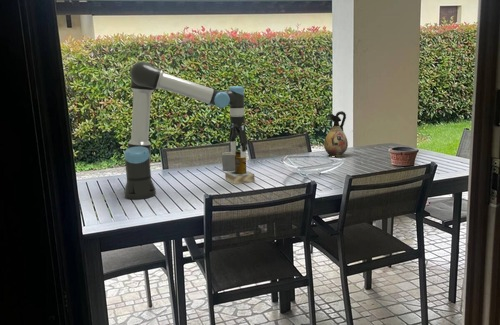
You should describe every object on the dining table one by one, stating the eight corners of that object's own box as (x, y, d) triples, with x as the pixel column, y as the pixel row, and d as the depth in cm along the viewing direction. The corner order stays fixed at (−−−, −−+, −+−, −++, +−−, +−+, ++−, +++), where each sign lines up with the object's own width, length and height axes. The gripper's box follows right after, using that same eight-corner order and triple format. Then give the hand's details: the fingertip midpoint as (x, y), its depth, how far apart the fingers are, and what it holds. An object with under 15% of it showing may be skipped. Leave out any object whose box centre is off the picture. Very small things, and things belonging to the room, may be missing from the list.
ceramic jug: (329, 159, 294) (329, 113, 287) (320, 154, 308) (320, 110, 302) (353, 157, 297) (354, 111, 291) (344, 153, 312) (344, 109, 305)
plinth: (233, 184, 239) (233, 176, 238) (225, 179, 250) (225, 172, 249) (254, 181, 244) (254, 173, 243) (245, 176, 254) (245, 169, 253)
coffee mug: (241, 170, 270) (240, 153, 268) (225, 172, 267) (224, 155, 265) (234, 166, 283) (233, 150, 281) (218, 167, 279) (218, 151, 277)
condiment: (249, 173, 245) (248, 151, 242) (236, 175, 240) (235, 153, 238) (242, 170, 251) (241, 149, 248) (229, 173, 246) (228, 151, 244)
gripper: (253, 117, 230) (254, 158, 234) (234, 113, 252) (235, 151, 256) (240, 118, 227) (241, 160, 231) (222, 114, 249) (223, 152, 253)
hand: (238, 155), depth 244 cm, fingers open, 13 cm apart
